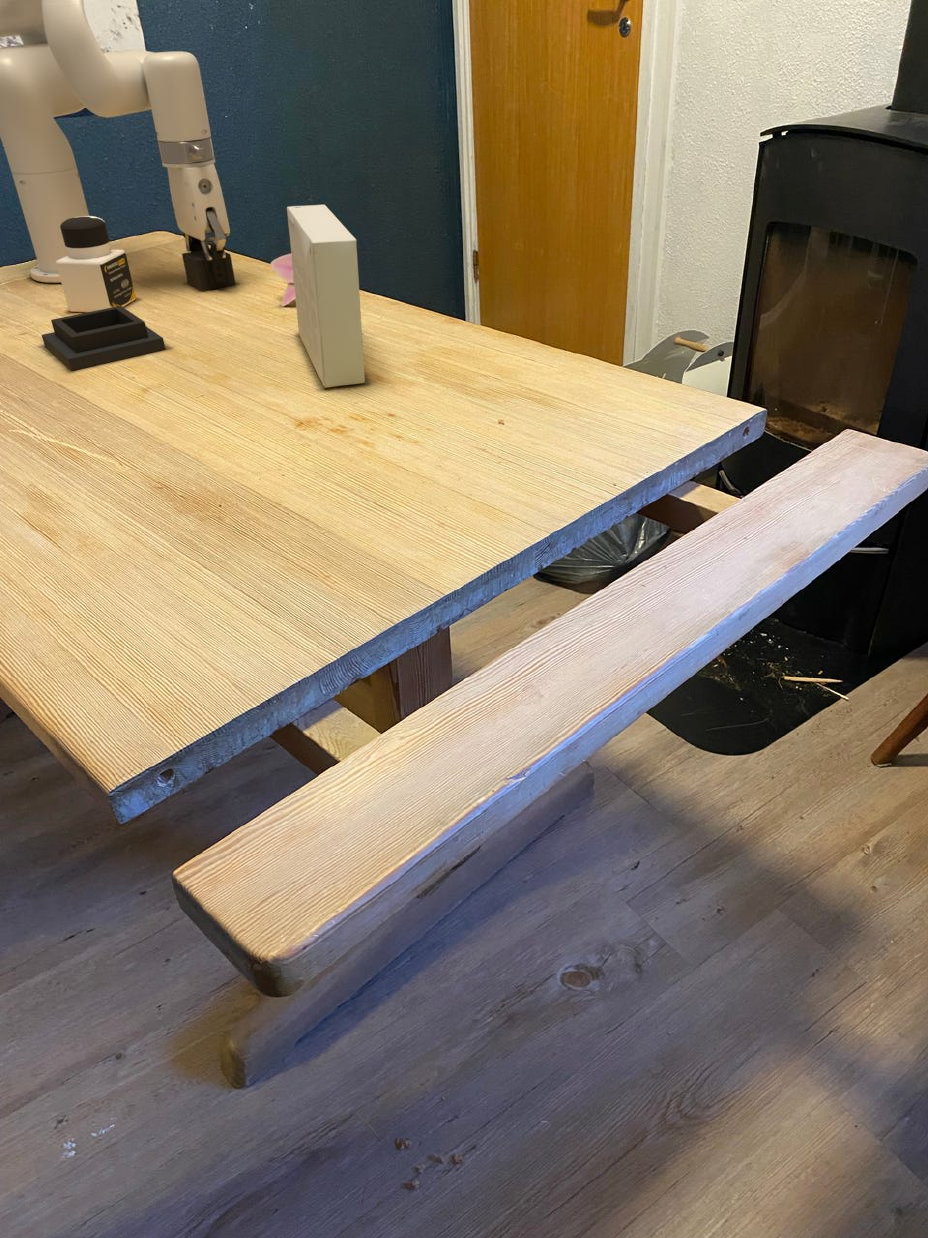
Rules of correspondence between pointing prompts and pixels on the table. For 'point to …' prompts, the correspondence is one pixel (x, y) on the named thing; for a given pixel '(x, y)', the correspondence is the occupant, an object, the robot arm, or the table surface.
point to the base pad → (100, 338)
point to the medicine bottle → (93, 267)
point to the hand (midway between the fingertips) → (211, 280)
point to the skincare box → (327, 294)
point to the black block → (202, 270)
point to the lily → (285, 276)
